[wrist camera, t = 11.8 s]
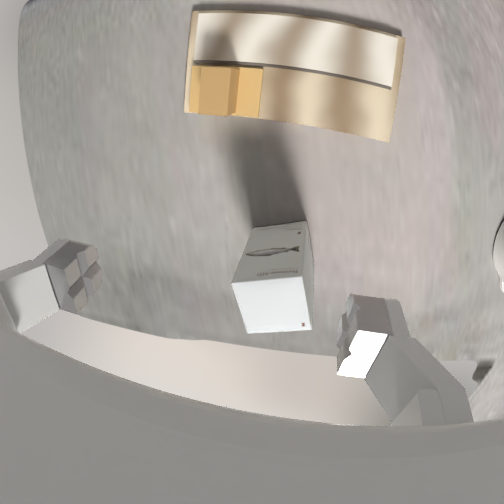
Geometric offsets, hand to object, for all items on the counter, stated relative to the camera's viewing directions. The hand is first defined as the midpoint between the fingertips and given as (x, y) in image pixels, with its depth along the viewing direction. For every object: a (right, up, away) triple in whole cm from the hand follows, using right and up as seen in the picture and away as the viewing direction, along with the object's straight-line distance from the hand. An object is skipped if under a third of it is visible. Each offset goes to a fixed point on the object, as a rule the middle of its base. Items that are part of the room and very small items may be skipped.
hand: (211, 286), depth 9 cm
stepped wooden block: (-2, +19, +22) cm, 29 cm away
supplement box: (+6, +2, +33) cm, 33 cm away
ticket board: (+6, +21, +20) cm, 30 cm away
